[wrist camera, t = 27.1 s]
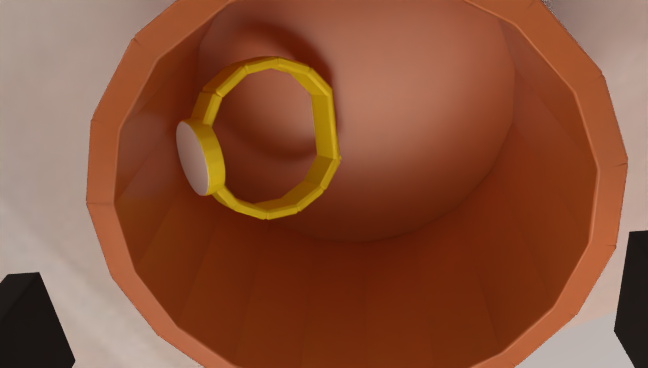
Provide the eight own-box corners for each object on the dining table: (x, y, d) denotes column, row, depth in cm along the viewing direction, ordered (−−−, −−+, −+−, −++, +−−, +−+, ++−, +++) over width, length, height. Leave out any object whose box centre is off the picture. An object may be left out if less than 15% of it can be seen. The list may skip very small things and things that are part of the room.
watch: (361, 195, 23) (227, 251, 21) (323, 183, 26) (197, 231, 23) (336, 43, 22) (184, 81, 19) (297, 44, 24) (156, 78, 21)
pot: (226, 301, 30) (175, 468, 22) (121, -146, 21) (-38, -155, 12) (519, 285, 29) (587, 456, 20) (547, -201, 19) (691, -255, 11)
